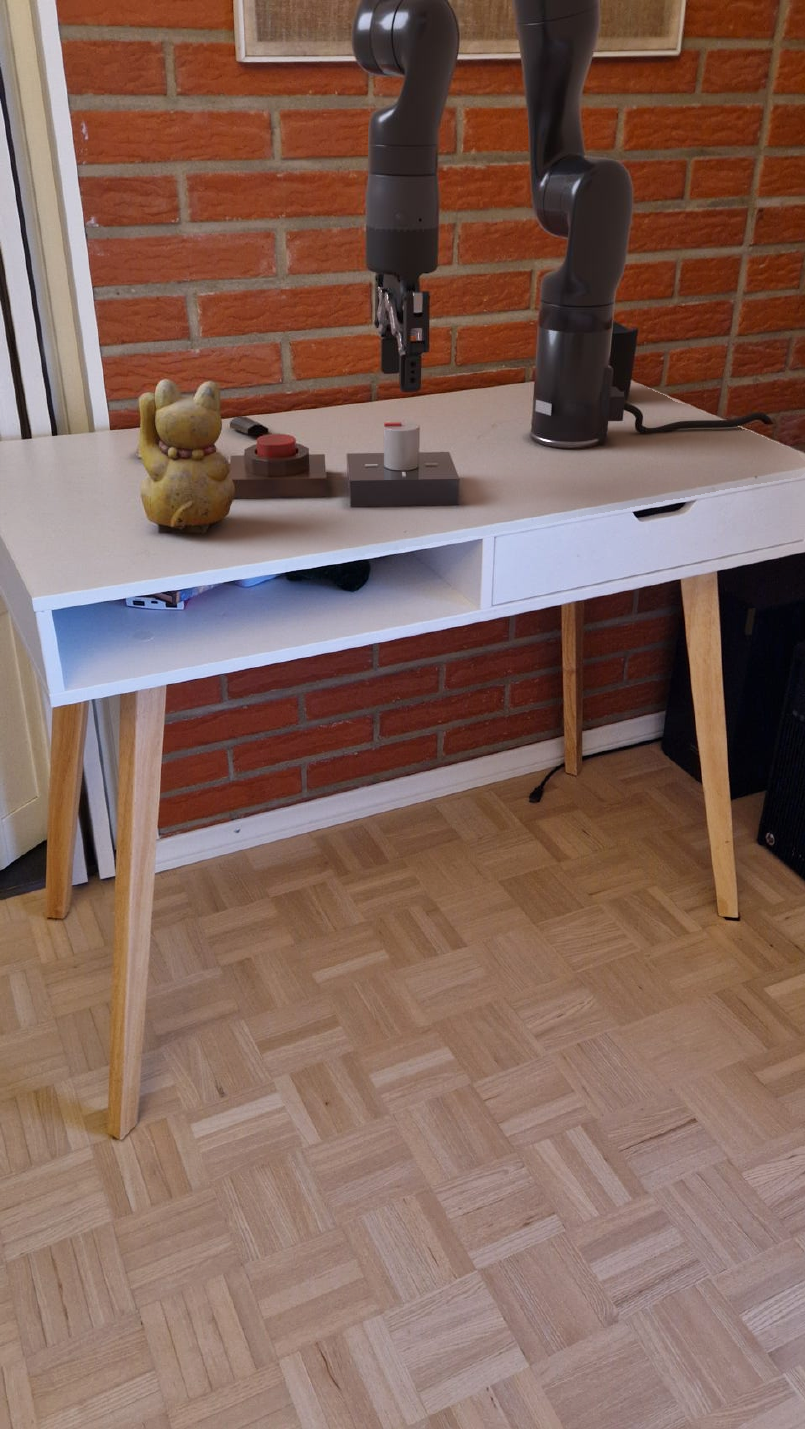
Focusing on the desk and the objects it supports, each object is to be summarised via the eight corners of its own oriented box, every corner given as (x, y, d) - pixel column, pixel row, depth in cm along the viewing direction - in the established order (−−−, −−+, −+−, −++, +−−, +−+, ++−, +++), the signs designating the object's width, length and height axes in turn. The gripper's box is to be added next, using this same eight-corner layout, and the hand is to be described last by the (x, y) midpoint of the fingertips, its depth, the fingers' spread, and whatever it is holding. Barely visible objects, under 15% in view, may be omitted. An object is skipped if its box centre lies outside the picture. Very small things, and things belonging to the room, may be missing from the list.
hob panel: (448, 476, 139) (449, 450, 138) (458, 505, 130) (459, 477, 129) (346, 478, 138) (346, 452, 137) (350, 507, 130) (349, 479, 128)
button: (296, 448, 136) (295, 433, 135) (296, 460, 132) (295, 444, 132) (257, 449, 136) (257, 434, 135) (256, 460, 132) (255, 445, 131)
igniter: (325, 472, 140) (324, 439, 138) (326, 497, 132) (326, 462, 130) (231, 473, 139) (229, 440, 138) (228, 498, 132) (225, 463, 130)
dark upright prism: (564, 403, 168) (570, 331, 164) (567, 387, 177) (572, 318, 172) (631, 407, 167) (638, 334, 162) (631, 390, 175) (638, 321, 170)
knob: (417, 459, 135) (418, 417, 132) (420, 470, 131) (421, 427, 129) (382, 460, 134) (382, 418, 132) (384, 471, 131) (384, 428, 129)
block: (247, 440, 151) (246, 426, 150) (227, 429, 156) (226, 415, 155) (272, 436, 153) (272, 422, 152) (251, 425, 157) (251, 411, 157)
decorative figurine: (236, 513, 128) (228, 372, 120) (236, 540, 121) (227, 393, 113) (146, 515, 127) (131, 374, 119) (140, 543, 119) (124, 395, 112)
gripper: (457, 230, 115) (451, 396, 123) (419, 213, 127) (416, 366, 135) (382, 231, 114) (381, 400, 122) (351, 214, 126) (352, 368, 134)
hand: (400, 382), depth 128 cm, fingers open, 8 cm apart
